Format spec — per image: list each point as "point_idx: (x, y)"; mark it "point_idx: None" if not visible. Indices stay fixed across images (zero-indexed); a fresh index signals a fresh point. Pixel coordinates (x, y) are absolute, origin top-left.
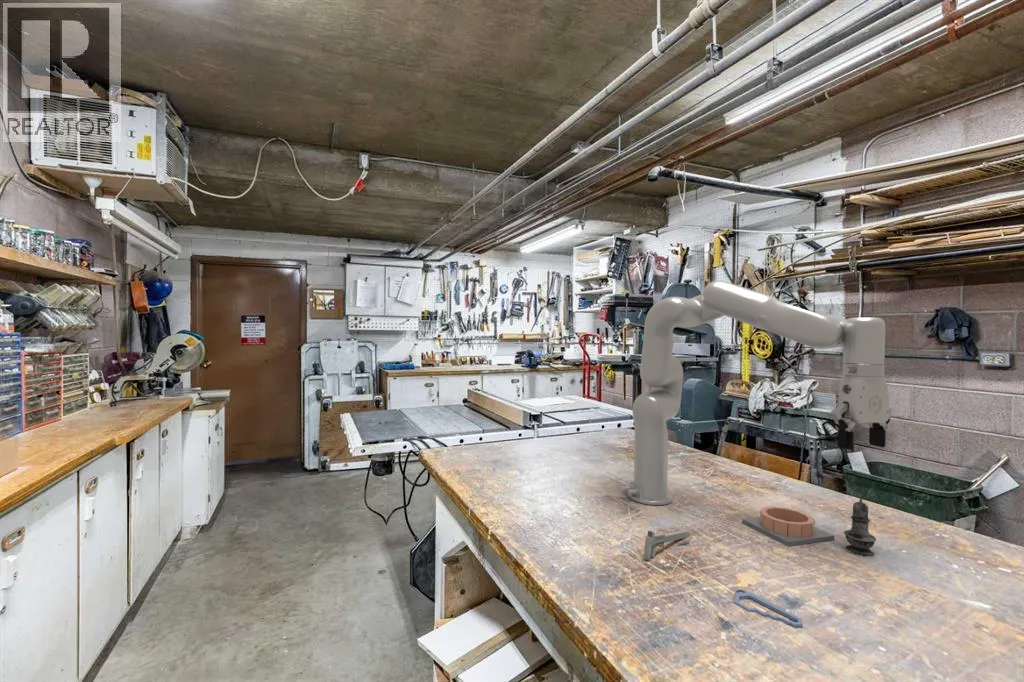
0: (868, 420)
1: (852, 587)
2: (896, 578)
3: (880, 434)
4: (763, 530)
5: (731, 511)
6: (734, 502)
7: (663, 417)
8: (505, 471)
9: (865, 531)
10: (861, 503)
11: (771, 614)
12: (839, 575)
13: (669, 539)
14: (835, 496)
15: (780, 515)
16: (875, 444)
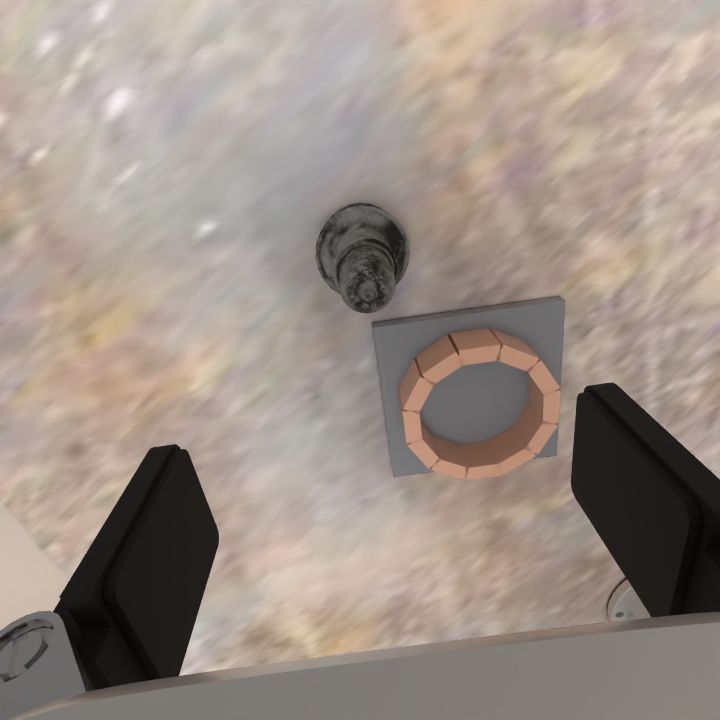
0: (634, 677)
1: (624, 4)
2: (414, 43)
3: (147, 557)
4: (559, 384)
5: (514, 515)
6: (453, 564)
7: None
8: None
9: (366, 234)
10: (373, 282)
11: None
12: (585, 91)
13: None
14: None
15: (449, 449)
16: (203, 500)
